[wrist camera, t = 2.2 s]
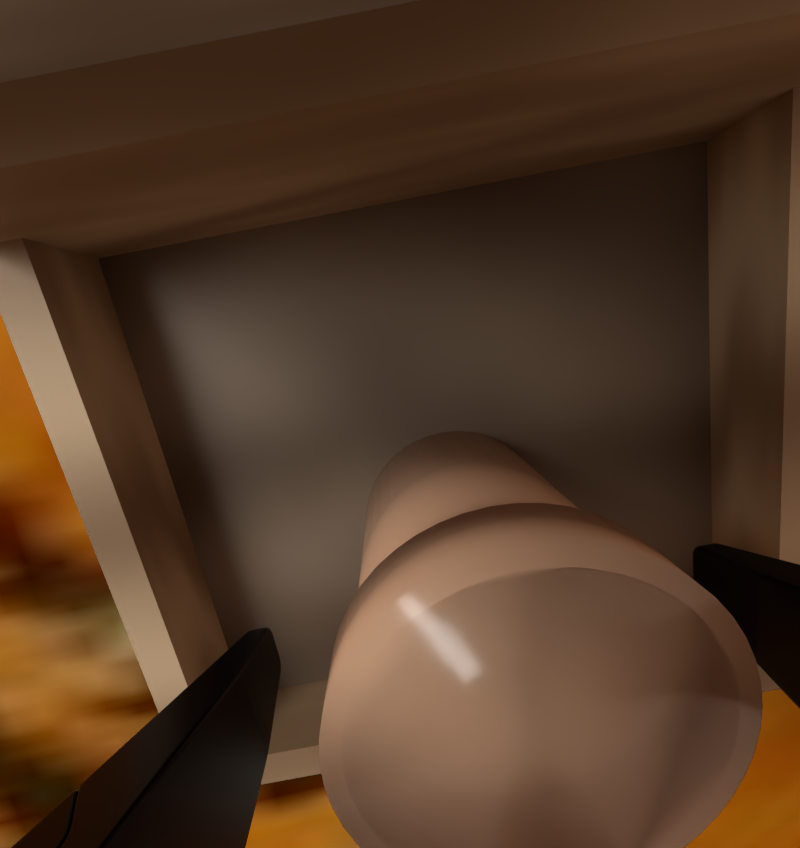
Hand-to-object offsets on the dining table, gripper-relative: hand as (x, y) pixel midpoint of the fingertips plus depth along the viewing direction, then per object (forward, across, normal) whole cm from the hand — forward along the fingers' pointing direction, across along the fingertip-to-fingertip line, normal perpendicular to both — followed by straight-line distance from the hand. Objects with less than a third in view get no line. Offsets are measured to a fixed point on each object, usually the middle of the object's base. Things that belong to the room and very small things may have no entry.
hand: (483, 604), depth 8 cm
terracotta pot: (+4, 0, 0) cm, 4 cm away
